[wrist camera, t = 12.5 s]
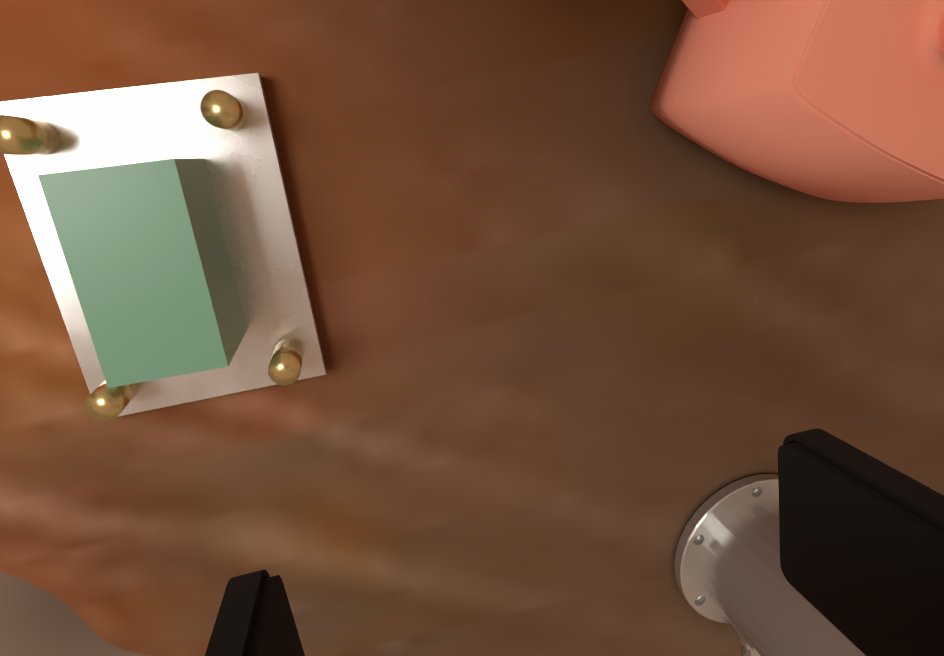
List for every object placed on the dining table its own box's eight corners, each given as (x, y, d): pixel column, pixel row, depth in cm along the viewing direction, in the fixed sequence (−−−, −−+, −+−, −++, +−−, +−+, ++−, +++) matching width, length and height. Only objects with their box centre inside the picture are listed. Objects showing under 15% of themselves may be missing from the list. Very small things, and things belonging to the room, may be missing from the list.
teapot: (937, 47, 38) (1262, -13, 25) (845, 234, 40) (1096, 271, 27) (659, -133, 31) (896, -346, 18) (567, 101, 34) (718, 64, 20)
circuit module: (247, 330, 32) (228, 366, 26) (149, 346, 31) (108, 388, 26) (204, 158, 29) (173, 158, 24) (96, 171, 28) (37, 174, 23)
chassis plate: (326, 367, 35) (325, 394, 31) (107, 411, 33) (76, 445, 29) (260, 75, 30) (249, 63, 26) (0, 105, 28) (-55, 97, 24)
